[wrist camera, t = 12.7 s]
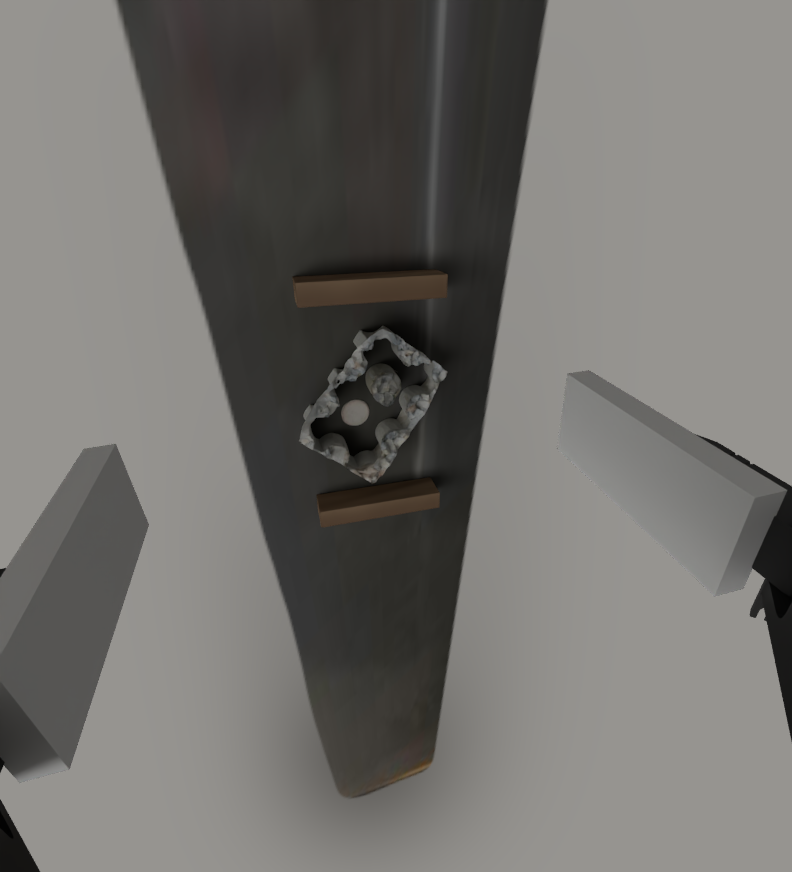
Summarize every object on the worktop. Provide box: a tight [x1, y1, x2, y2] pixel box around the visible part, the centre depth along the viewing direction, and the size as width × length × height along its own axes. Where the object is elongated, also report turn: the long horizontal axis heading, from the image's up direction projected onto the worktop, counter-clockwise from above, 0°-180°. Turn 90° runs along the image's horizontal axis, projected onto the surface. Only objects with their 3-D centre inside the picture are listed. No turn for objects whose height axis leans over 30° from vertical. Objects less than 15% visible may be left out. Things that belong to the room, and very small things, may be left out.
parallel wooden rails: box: [293, 269, 448, 527], centre depth 36 cm, size 19×10×2 cm, turn 1°
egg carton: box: [299, 326, 447, 484], centre depth 35 cm, size 11×8×4 cm
